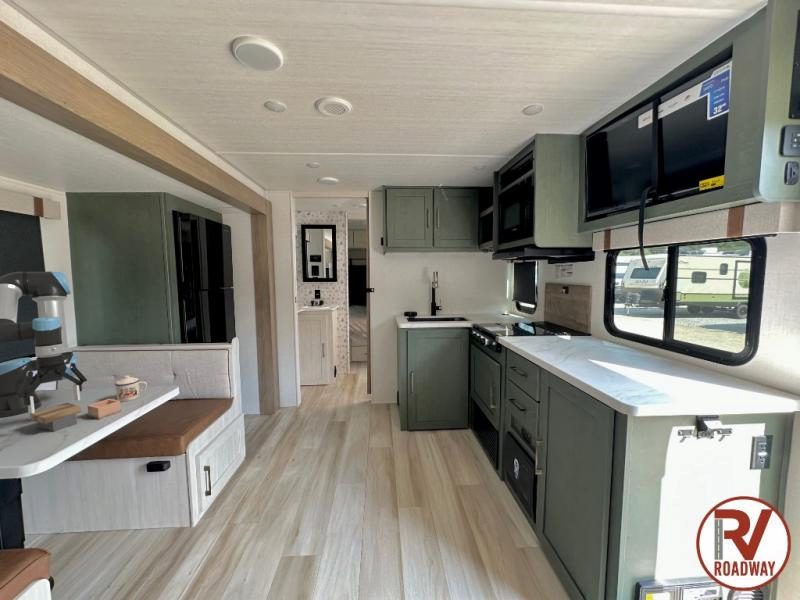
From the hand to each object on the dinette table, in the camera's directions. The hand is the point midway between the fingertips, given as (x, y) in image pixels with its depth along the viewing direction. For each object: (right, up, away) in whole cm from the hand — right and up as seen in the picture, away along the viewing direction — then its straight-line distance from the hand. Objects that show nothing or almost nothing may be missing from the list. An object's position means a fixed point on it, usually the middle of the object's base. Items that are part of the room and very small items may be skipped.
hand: (55, 406), depth 130 cm
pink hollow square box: (+10, -7, +11) cm, 17 cm away
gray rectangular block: (0, -8, +1) cm, 8 cm away
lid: (0, -4, +1) cm, 4 cm away
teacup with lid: (+7, -6, +29) cm, 31 cm away
